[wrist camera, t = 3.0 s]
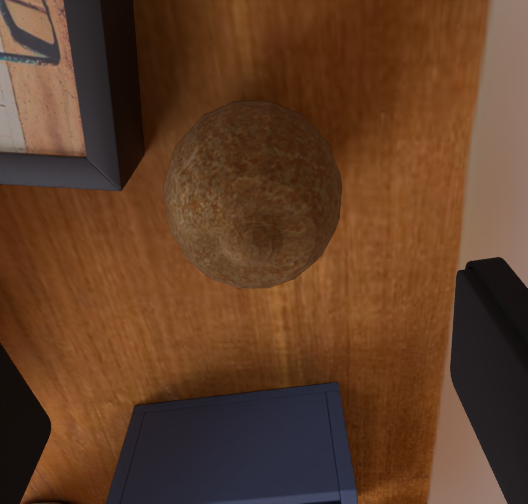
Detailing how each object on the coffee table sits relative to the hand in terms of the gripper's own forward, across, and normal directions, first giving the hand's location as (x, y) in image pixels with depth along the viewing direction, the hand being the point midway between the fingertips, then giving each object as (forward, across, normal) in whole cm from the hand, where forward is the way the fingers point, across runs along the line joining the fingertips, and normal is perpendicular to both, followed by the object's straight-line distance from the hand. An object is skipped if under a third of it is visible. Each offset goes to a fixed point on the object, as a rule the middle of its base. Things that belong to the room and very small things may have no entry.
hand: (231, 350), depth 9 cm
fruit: (+12, 0, 0) cm, 12 cm away
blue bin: (+12, +4, +21) cm, 25 cm away
